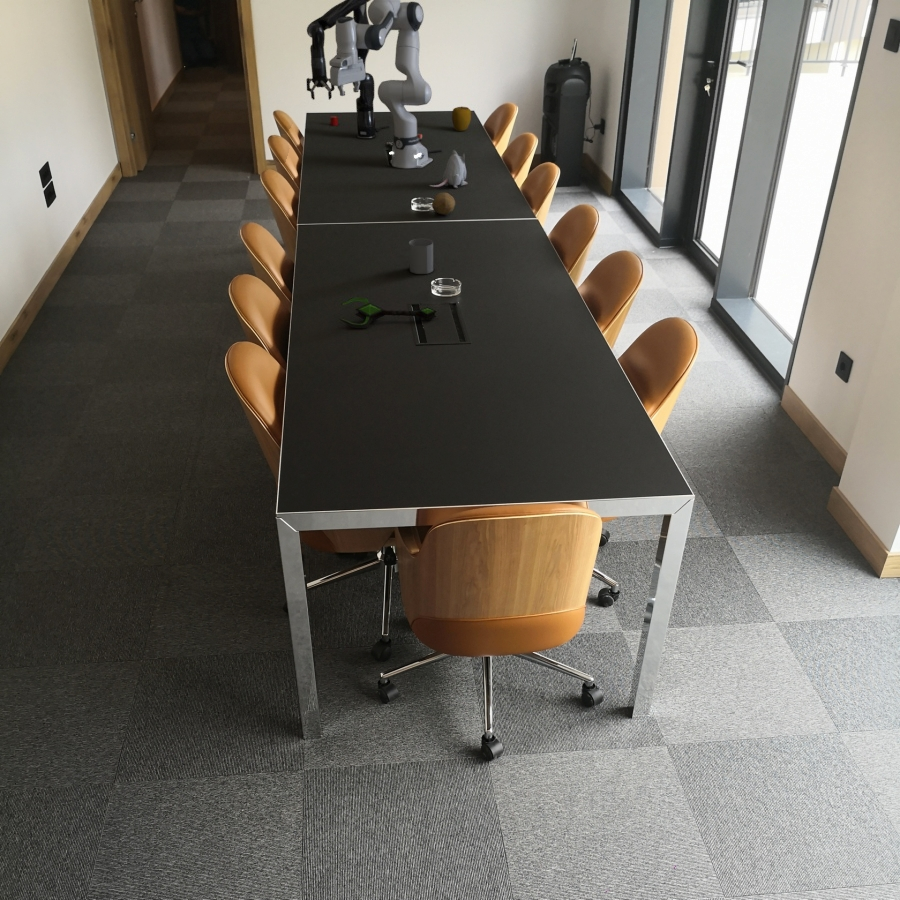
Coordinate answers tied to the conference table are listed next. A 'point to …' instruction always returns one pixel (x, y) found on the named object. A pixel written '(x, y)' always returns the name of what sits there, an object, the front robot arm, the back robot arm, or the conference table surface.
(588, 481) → the conference table surface
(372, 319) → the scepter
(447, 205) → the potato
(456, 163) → the toy
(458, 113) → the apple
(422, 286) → the conference table surface
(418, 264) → the cup
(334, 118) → the tin
